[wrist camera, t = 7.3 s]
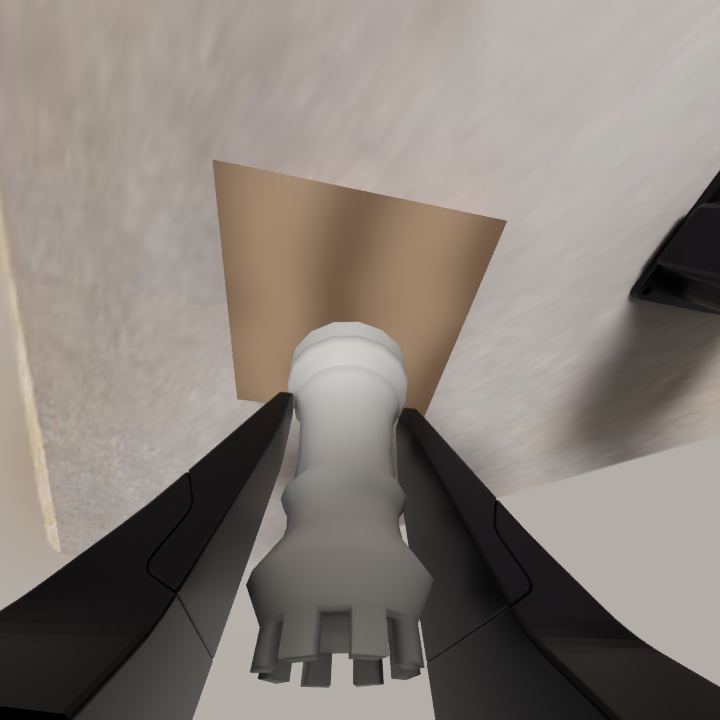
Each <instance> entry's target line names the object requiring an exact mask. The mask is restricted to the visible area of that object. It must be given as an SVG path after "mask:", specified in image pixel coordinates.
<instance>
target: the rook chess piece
mask: <svg viewBox="0 0 720 720" xmlns="http://www.w3.org/2000/svg"><path fill="white" fill-rule="evenodd" d="M405 368H406V362H405V360H404V357H403V355H402V352H401V350H400V347H399V345H398V344H397V343H396V342H395V341H393V340H392V339H391V338H390V337H389V336H388V335H387V334H386V333H385V332H384V331H382V330H380V329H378V328H375V327H372V326H369V325H366V324H364V323H361V322H333V323H331V324H328V325H326V326H324V327H321V328H319V329H316V330H314V331H311V332H310V333H309V334H308V335H307V336H306V337H305V339H304V340H303V341H302V342H301V343H300V344H299V345H298V346H297V347H296V349H295V352H294V356H293V359H292V362H291V370H290V373H289V376H288V379H287V383H288V390H289V392H290V393H293V395H294V400H293V408H294V409H295V413H296V418H297V420H298V421H299V422H300V440H299V459H298V465H297V469H296V474H295V479H294V480H293V481H291V482H290V483H289V484H288V485H286V487H285V490H284V492H283V495H282V497H281V502H282V505H283V508H284V511H285V513H286V515H287V528H286V531H285V534H284V537H283V538H282V539H281V540H280V541H279V542H278V543H277V544H276V545H275V546H274V547H273V549H272V550H271V551H270V552H269V553H268V554H267V555H266V556H265V557H264V558H263V559H262V561H261V562H260V563H259V564H258V565H257V566H256V567H255V568H254V569H253V571H252V572H251V575H250V577H249V579H248V582H247V584H246V586H247V589H248V592H249V595H250V598H251V601H252V605H253V608H254V611H255V614H256V617H257V620H258V623H259V626H260V629H259V634H258V638H257V643H256V647H255V653H254V657H253V661H252V666H251V670H250V672H251V673H259V676H258V679H260V680H264V681H268V682H272V683H275V684H277V683H283V682H289V680H290V673H291V665H292V663H296V662H303V669H302V679H301V687H327V688H329V686H330V684H331V664H332V653H349V659H353V684H354V685H355V686H357V687H359V686H370V685H380V684H384V682H383V664H382V658H385V657H388V656H389V651H390V665H391V678H392V679H401V680H407V679H410V678H412V677H415V676H418V675H420V674H421V673H420V668H424V662H423V655H422V648H421V641H420V635H419V627H418V622H419V619H420V617H421V614H422V611H423V609H424V606H425V603H426V601H427V598H428V595H429V593H430V590H431V587H432V584H433V581H434V579H433V578H432V577H431V575H430V574H429V573H428V571H427V570H426V568H425V567H424V566H423V565H422V563H421V562H420V561H419V560H418V558H417V557H416V556H415V555H414V553H413V552H412V551H411V550H410V548H409V547H408V546H407V545H406V544H405V542H404V541H403V540H402V536H401V532H400V528H399V517H400V516H401V514H402V513H403V511H404V509H405V503H406V495H405V493H404V491H403V490H402V488H401V486H400V485H399V483H398V482H397V481H396V480H395V478H394V471H393V463H392V428H393V425H394V423H395V421H396V420H397V418H398V417H399V411H400V410H401V408H402V407H403V405H404V403H405V400H406V392H407V382H408V376H407V374H406V371H405ZM388 643H389V647H388Z"/></svg>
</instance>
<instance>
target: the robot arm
mask: <svg viewBox="0 0 720 720" xmlns="http://www.w3.org/2000/svg"><path fill="white" fill-rule="evenodd" d="M644 289H645V290H644ZM643 290H644V291H643ZM631 295H632V296H633V297H635V298H638V299H641V300H646V301H651V302H656V303H662V304H667V305H672V306H677V307H682V308H688V309H693V310H698V311H703V312H708V313H713V314H719V315H720V172H719V173H718V175H717V176H716V177H715V179H714V180H713V181H712V183H711V184H710V185H709V187H708V188H707V189H706V191H705V192H704V193H703V195H702V196H701V197H700V199H699V200H698V201H697V203H696V204H695V205H694V207H693V208H692V209H691V211H690V212H689V213H688V215H687V216H686V217H685V219H684V220H683V221H682V223H681V224H680V225H679V227H678V228H677V229H676V231H675V232H674V233H673V235H672V236H671V237H670V239H669V240H668V241H667V243H666V244H665V245H664V247H663V248H662V249H661V251H660V252H659V253H658V255H657V256H656V257H655V259H654V260H653V261H652V263H651V264H650V265H649V267H648V268H647V269H646V271H645V272H644V273H643V275H642V276H641V277H640V279H639V280H638V281H637V283H636V284H635V285H634V287H633V288H632V290H631ZM293 400H294V395H293V393H290V392H279V393H278V394H277V395H275V396H274V397H273V398H272V399H271V400H270V401H268V402H267V403H266V404H265V405H264V406H263V407H261V408H260V409H259V410H258V411H257V412H256V413H254V414H253V415H252V416H251V417H250V418H249V419H247V420H246V421H245V422H244V423H243V424H242V425H240V426H239V427H238V428H237V429H236V430H235V431H234V432H232V433H231V434H230V435H229V436H228V437H227V438H225V439H224V440H223V441H222V442H221V443H220V444H218V445H217V446H216V447H215V448H214V449H213V450H211V451H210V452H209V453H208V454H207V455H206V456H204V457H203V458H202V459H201V460H200V461H199V462H197V463H196V464H195V465H194V466H193V467H192V468H191V469H189V473H188V472H186V473H184V474H183V475H182V476H181V477H180V478H179V479H178V480H176V481H175V482H174V483H173V484H172V485H170V486H169V487H168V488H167V489H166V490H164V491H163V492H162V493H161V494H160V495H158V496H157V497H156V498H155V499H153V500H152V501H151V502H150V503H149V504H147V505H146V506H145V507H143V508H142V509H141V510H139V511H138V512H137V513H135V514H134V515H133V516H131V517H130V518H129V519H128V520H126V521H125V522H124V523H122V524H121V525H120V526H118V527H117V528H116V529H114V530H113V531H111V532H110V533H109V534H107V535H106V536H105V537H103V538H102V539H101V540H99V541H98V542H96V543H95V544H94V545H92V546H91V547H90V548H88V549H87V550H86V551H84V552H83V553H81V554H80V555H79V556H77V557H76V558H75V559H73V560H72V561H71V562H69V563H68V564H66V565H65V566H64V567H62V568H61V569H60V570H58V571H57V572H56V573H54V574H53V575H52V576H50V577H49V578H47V579H46V580H45V581H43V582H42V583H41V584H39V585H38V586H37V587H35V588H34V589H32V590H31V591H29V592H28V593H26V594H25V595H24V596H22V597H21V598H19V599H18V600H16V601H15V602H13V603H11V604H10V605H8V606H7V607H5V608H4V609H2V610H1V611H0V720H192V719H193V716H194V713H195V710H196V707H197V705H198V702H199V699H200V696H201V693H202V690H203V687H204V685H205V682H206V679H207V676H208V673H209V670H210V668H211V665H212V662H213V660H212V659H213V658H214V656H215V653H216V650H217V647H218V644H219V642H220V639H221V636H222V633H223V630H224V627H225V625H226V622H227V619H228V616H229V613H230V610H231V608H232V605H233V602H234V599H235V596H236V593H237V590H238V587H239V584H240V581H241V579H242V576H243V573H244V571H245V568H246V565H247V562H248V559H249V556H250V553H251V551H252V548H253V545H254V542H255V539H256V536H257V533H258V531H259V528H260V525H261V522H262V519H263V516H264V514H265V511H266V508H267V505H268V502H269V499H270V496H271V494H272V491H273V488H274V485H275V482H276V479H277V477H278V474H279V471H280V468H281V464H282V461H283V457H284V452H285V448H286V443H287V439H288V434H289V429H290V425H291V420H292V415H293ZM396 443H397V467H398V480H399V485H400V486H401V488H402V490H403V491H404V493H405V495H406V503H405V509H404V511H403V513H404V519H405V525H406V532H407V538H408V545H409V548H410V550H411V551H412V552H413V553H414V555H415V556H416V557H417V558H418V560H419V561H420V562H421V563H422V565H423V566H424V567H425V568H426V570H427V571H428V573H429V574H430V575H431V577H432V578H433V579H434V581H433V584H432V587H431V590H430V593H429V595H428V598H427V601H426V603H425V606H424V609H423V611H422V614H421V617H420V622H421V629H422V635H423V641H424V648H425V654H426V660H427V662H428V663H427V668H428V675H429V681H430V687H431V694H432V701H433V707H434V713H435V720H720V687H719V686H717V685H716V684H714V683H712V682H711V681H709V680H707V679H706V678H704V677H702V676H700V675H699V674H697V673H695V672H693V671H692V670H690V669H688V668H687V667H685V666H683V665H682V664H680V663H678V662H676V661H675V660H673V659H671V658H669V657H668V656H666V655H664V654H663V653H661V652H659V651H658V650H656V649H654V648H653V647H651V646H650V645H649V644H647V643H645V642H644V641H643V640H641V639H640V638H638V637H637V636H636V635H635V634H633V633H632V632H631V631H629V630H628V629H627V628H626V627H625V626H623V625H622V624H621V623H620V622H618V621H617V620H616V619H615V618H614V617H613V616H612V615H611V614H610V613H609V612H608V611H607V610H606V609H604V607H603V606H601V604H599V603H598V602H597V601H596V600H595V599H594V598H593V597H592V596H591V595H590V594H589V593H588V592H587V591H586V590H585V589H584V588H583V587H582V586H581V585H580V584H579V583H578V582H577V581H576V580H575V579H574V578H573V577H572V576H571V575H570V574H569V573H568V572H567V571H566V570H565V569H564V568H563V567H562V566H561V565H560V564H559V563H558V562H557V561H556V560H555V559H554V558H553V557H552V556H551V555H549V553H548V552H547V551H546V550H545V549H544V548H543V547H542V546H541V545H540V544H539V543H538V542H537V541H536V540H535V539H534V538H533V537H532V536H531V535H530V534H529V533H528V532H527V531H526V530H525V529H524V528H523V527H522V526H521V525H520V523H519V522H518V521H517V520H516V519H515V518H514V517H513V516H512V515H511V514H510V513H509V512H508V510H507V509H506V508H505V507H504V506H503V505H502V504H501V503H500V501H498V500H496V497H495V496H494V495H493V494H492V493H491V492H490V490H489V489H488V488H487V487H486V486H485V485H484V484H483V483H482V481H481V480H480V479H479V478H478V477H477V476H476V475H475V474H474V473H473V471H472V470H471V469H470V468H469V467H468V466H467V465H466V464H465V462H464V461H463V460H462V459H461V458H460V457H459V456H458V455H457V454H456V452H455V451H454V450H453V449H452V448H451V447H450V446H449V445H448V443H447V442H446V441H445V440H444V439H443V438H442V437H441V436H440V435H439V433H438V432H437V431H436V430H435V429H434V428H433V427H432V426H431V424H430V423H429V422H428V421H427V420H426V419H425V418H424V417H423V416H422V414H421V413H420V412H419V411H418V410H417V409H415V408H408V407H405V408H403V410H402V412H401V415H400V418H399V420H398V423H397V427H396Z"/></svg>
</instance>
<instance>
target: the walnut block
mask: <svg viewBox="0 0 720 720" xmlns="http://www.w3.org/2000/svg"><path fill="white" fill-rule="evenodd" d="M213 168H214V178H215V187H216V197H217V207H218V216H219V226H220V236H221V245H222V255H223V265H224V274H225V284H226V294H227V303H228V313H229V323H230V333H231V342H232V352H233V362H234V371H235V381H236V391H237V399H241V400H250V401H259V402H268V401H270V400H271V399H272V398H273V397H274V396H275V395H277V394H278V393H279V392H289V390H288V383H287V379H288V376H289V373H290V370H291V362H292V359H293V356H294V352H295V349H296V347H297V346H298V345H299V344H300V343H301V342H302V341H303V340H304V339H305V337H306V336H307V335H308V334H309V333H310V332H311V331H314V330H316V329H319V328H321V327H324V326H326V325H328V324H331V323H333V322H361V323H364V324H366V325H369V326H372V327H375V328H378V329H380V330H382V331H384V332H385V333H386V334H387V335H388V336H389V337H390V338H391V339H392V340H393V341H395V342H396V343H397V344H398V345H399V347H400V350H401V352H402V355H403V357H404V360H405V362H406V368H405V371H406V374H407V376H408V382H407V392H406V400H405V403H404V405H403V407H402V408H401V410H400V411H399V417H400V415H401V412H402V410H403V408H405V407H408V408H415V409H417V410H418V411H419V412H420V413H421V414H422V416H423V417H424V416H425V414H426V411H427V409H428V406H429V404H430V402H431V399H432V397H433V395H434V392H435V390H436V388H437V385H438V383H439V380H440V378H441V376H442V373H443V371H444V369H445V366H446V364H447V362H448V359H449V357H450V354H451V352H452V350H453V347H454V345H455V343H456V340H457V338H458V336H459V333H460V331H461V328H462V326H463V324H464V321H465V319H466V317H467V314H468V312H469V310H470V307H471V305H472V303H473V300H474V298H475V295H476V293H477V291H478V288H479V286H480V284H481V281H482V279H483V277H484V274H485V272H486V269H487V267H488V265H489V262H490V260H491V258H492V255H493V253H494V251H495V248H496V246H497V243H498V241H499V239H500V236H501V234H502V232H503V229H504V227H505V225H506V222H507V221H505V220H500V219H495V218H491V217H486V216H481V215H476V214H471V213H466V212H462V211H457V210H452V209H447V208H442V207H438V206H433V205H428V204H423V203H418V202H414V201H409V200H404V199H399V198H394V197H390V196H385V195H380V194H375V193H370V192H366V191H361V190H356V189H351V188H346V187H342V186H337V185H332V184H327V183H322V182H318V181H313V180H308V179H303V178H298V177H294V176H289V175H284V174H279V173H274V172H269V171H265V170H260V169H255V168H250V167H245V166H241V165H236V164H231V163H226V162H221V161H217V160H213Z"/></svg>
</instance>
